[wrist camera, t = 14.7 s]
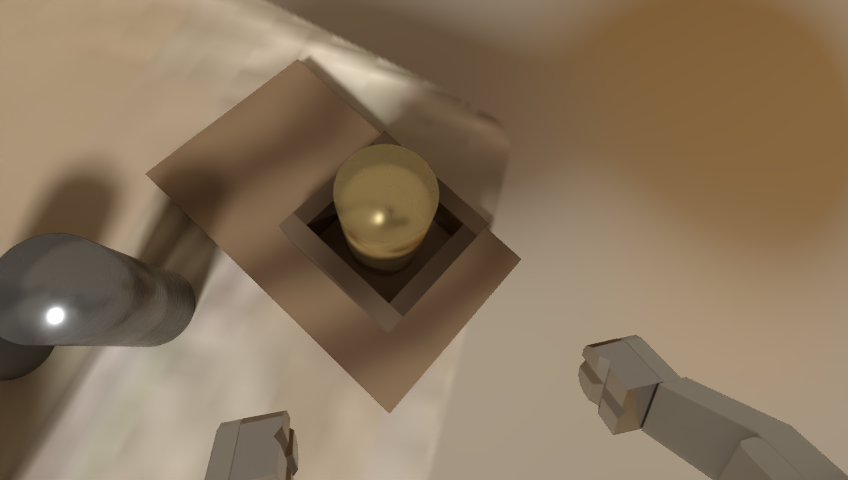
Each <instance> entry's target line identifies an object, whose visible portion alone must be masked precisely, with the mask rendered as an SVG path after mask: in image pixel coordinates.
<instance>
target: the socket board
mask: <svg viewBox="0 0 848 480" xmlns="http://www.w3.org/2000/svg"><path fill="white" fill-rule="evenodd" d="M379 144H392V145H397V146H401V145H400V144H399V143H398V142H397V141H396V140H394V139H393V138H392V137H391V136H390V135H389V134H388V133H387V132H386V131H384V132H383V133H382V134H381V133H380V132H379V131H377V130H376V129H375V128H374V127H373V126H372V125H371V124H370V123H368V122H367V121H366V120H365V119H364V118H363V117H362V116H361V115H360V114H358V113H357V112H356V111H355V110H354V109H353V108H352V107H351V106H349V105H348V104H347V103H346V102H345V101H344V100H343V99H342V98H341V97H339V96H338V95H337V94H336V93H335V92H334V91H333V90H332V89H330V88H329V87H328V86H327V85H326V84H325V83H324V82H323V81H322V80H320V79H319V78H318V77H317V76H316V75H315V74H314V73H313V72H311V71H310V70H309V69H308V68H307V67H306V66H305V65H304V64H303V63H301V62H300V61H299V60H298V59H297V60H296V61H295V62H293V63H292V64H291V65H289V66H288V67H287V68H285V69H284V70H283V71H281V72H280V73H279V74H277V75H276V76H275V77H273V78H272V79H271V80H269V81H268V82H267V83H265V84H264V85H263V86H261V87H260V88H259V89H257V90H256V91H255V92H253V93H252V94H251V95H249V96H248V97H247V98H245V99H244V100H243V101H241V102H240V103H239V104H237V105H236V106H235V107H233V108H232V109H231V110H229V111H228V112H227V113H225V114H224V115H223V116H221V117H220V118H219V119H217V120H216V121H215V122H213V123H212V124H211V125H209V126H208V127H207V128H205V129H204V130H203V131H201V132H200V133H199V134H197V135H196V136H195V137H193V138H192V139H191V140H189V141H188V142H187V143H185V144H184V145H183V146H181V147H180V148H179V149H177V150H176V151H175V152H173V153H172V154H171V155H169V156H168V157H167V158H165V159H164V160H163V161H161V162H160V163H159V164H157V165H156V166H155V167H153V168H152V169H151V170H149V171H148V172H147V173H145V174H146V175H147V176H148V177H149V178H150V179H151V180H152V181H153V182H154V183H155V184H156V185H157V186H158V187H159V188H160V189H161V190H162V191H163V192H164V193H165V194H166V195H167V196H169V197H170V198H171V199H172V200H173V201H174V202H175V203H176V204H177V205H178V206H179V207H180V208H181V209H182V210H183V211H184V212H185V213H186V214H187V215H188V216H189V217H190V218H191V219H192V220H193V221H194V222H195V223H196V224H197V225H198V226H199V227H200V228H201V229H202V230H203V231H204V232H205V233H206V234H207V235H208V236H209V237H210V238H211V239H212V240H213V241H214V242H215V243H216V244H217V245H218V246H219V247H220V248H221V249H222V250H223V251H224V252H225V253H226V254H228V255H229V256H230V257H231V258H232V259H233V260H234V261H235V262H236V263H237V264H238V265H239V266H240V267H241V268H242V269H243V270H244V271H245V272H246V273H247V274H248V275H249V276H250V277H251V278H252V279H253V280H254V281H255V282H256V283H257V284H258V285H259V286H260V287H261V288H262V289H263V290H264V291H265V292H266V293H267V294H268V295H269V296H270V297H271V298H272V299H273V300H274V301H275V302H276V303H277V304H278V305H279V306H280V307H281V308H282V309H283V310H284V311H285V312H287V313H288V314H289V315H290V316H291V317H292V318H293V319H294V320H295V321H296V322H297V323H298V324H299V325H300V326H301V327H302V328H303V329H304V330H305V331H306V332H307V333H308V334H309V335H310V336H311V337H312V338H313V339H314V340H315V341H316V342H317V343H318V344H319V345H320V346H321V347H322V348H323V349H324V350H325V351H326V352H327V353H328V354H329V355H330V356H331V357H332V358H333V359H334V360H335V361H336V362H337V363H338V364H339V365H340V366H341V367H342V368H343V369H344V370H346V371H347V372H348V373H349V374H350V375H351V376H352V377H353V378H354V379H355V380H356V381H357V382H358V383H359V384H360V385H361V386H362V387H363V388H364V389H365V390H366V391H367V392H368V393H369V394H370V395H371V396H372V397H373V398H374V399H375V400H376V401H377V402H378V403H379V404H380V405H381V406H382V407H383V408H384V409H385V410H386V411H387V412H388V413H389V414H390V412H391V411H392V410H393V409H394V408H395V407H396V405H397V404H398V403H399V402H400V401H401V399H402V398H403V397H404V396H405V395H406V394H407V392H408V391H409V390H410V389H411V388H412V387H413V385H414V384H415V383H416V382H417V381H418V380H419V378H420V377H421V376H422V375H423V374H424V373H425V371H426V370H427V369H428V368H429V367H430V366H431V364H432V363H433V362H434V361H435V360H436V358H437V357H438V356H439V355H440V354H441V353H442V351H443V350H444V349H445V348H446V347H447V346H448V344H449V343H450V342H451V341H452V340H453V339H454V337H455V336H456V335H457V334H458V333H459V332H460V330H461V329H462V328H463V327H464V326H465V325H466V323H467V322H468V321H469V320H470V319H471V318H472V316H473V315H474V314H475V313H476V312H477V310H478V309H479V308H480V307H481V306H482V305H483V303H484V302H485V301H486V300H487V299H488V298H489V296H490V295H491V294H492V293H493V292H494V290H495V289H496V288H497V287H498V286H499V285H500V284H501V282H502V281H503V280H504V279H505V278H506V277H507V275H508V274H509V273H510V272H511V271H512V269H513V268H514V267H515V266H516V265H517V264H518V262H519V261H520V260H521V258H519V257H518V256H517V255H516V254H515V253H514V252H513V251H512V250H510V249H509V248H508V247H507V246H506V245H505V244H503V242H502V241H500V240H499V239H498V238H497V237H496V236H495V235H494V234H493V233H492V232H490V231H489V230H488V229H487V228H486V226H487V225H488V224H489V223H487V222H486V221H485V220H484V219H483V218H482V217H481V216H480V215H479V214H477V213H476V212H475V211H474V210H473V209H472V208H471V207H470V206H468V205H467V204H466V203H465V202H464V201H463V200H462V199H461V198H459V197H458V196H457V195H456V194H455V193H454V192H453V191H452V190H451V189H449V188H448V187H447V186H446V185H445V184H444V183H443V182H442V181H440V180H439V179H438V178H437V177H436V176H435V177H436V179H437V183H438V187H439V202H438V207H437V210H436V213H435V215H434V217H433V219H432V222H431V224H430V226H429V228H428V230H427V233H426V235H425V237H424V239H423V242H422V244H421V246H420V248H419V250H418V253H417V255H416V257H415V259H414V260H413V261H412V263H411V264H410V265H409V266H408V267H407V268H405V269H404V270H402V271H400V272H398V273H395V274H392V275H376V274H372V273H369V272H367V271H365V270H364V269H362V268H361V267H360V266H358V265H357V264H356V262H355V261H354V260H353V258H352V257H351V255H350V252H349V249H348V246H347V243H346V240H345V236H344V233H343V230H342V227H341V223H340V220H339V217H338V213H337V210H336V207H335V203H334V197H333V189H334V182H335V178H336V176H337V173H338V171H339V170H340V168H341V166H342V165H343V164H344V162H345V161H346V160H347V159H348V158H349V157H350V156H352V155H353V154H354V153H356V152H358V151H359V150H361V149H364V148H366V147H369V146H373V145H379ZM401 147H402V146H401Z"/></svg>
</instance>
